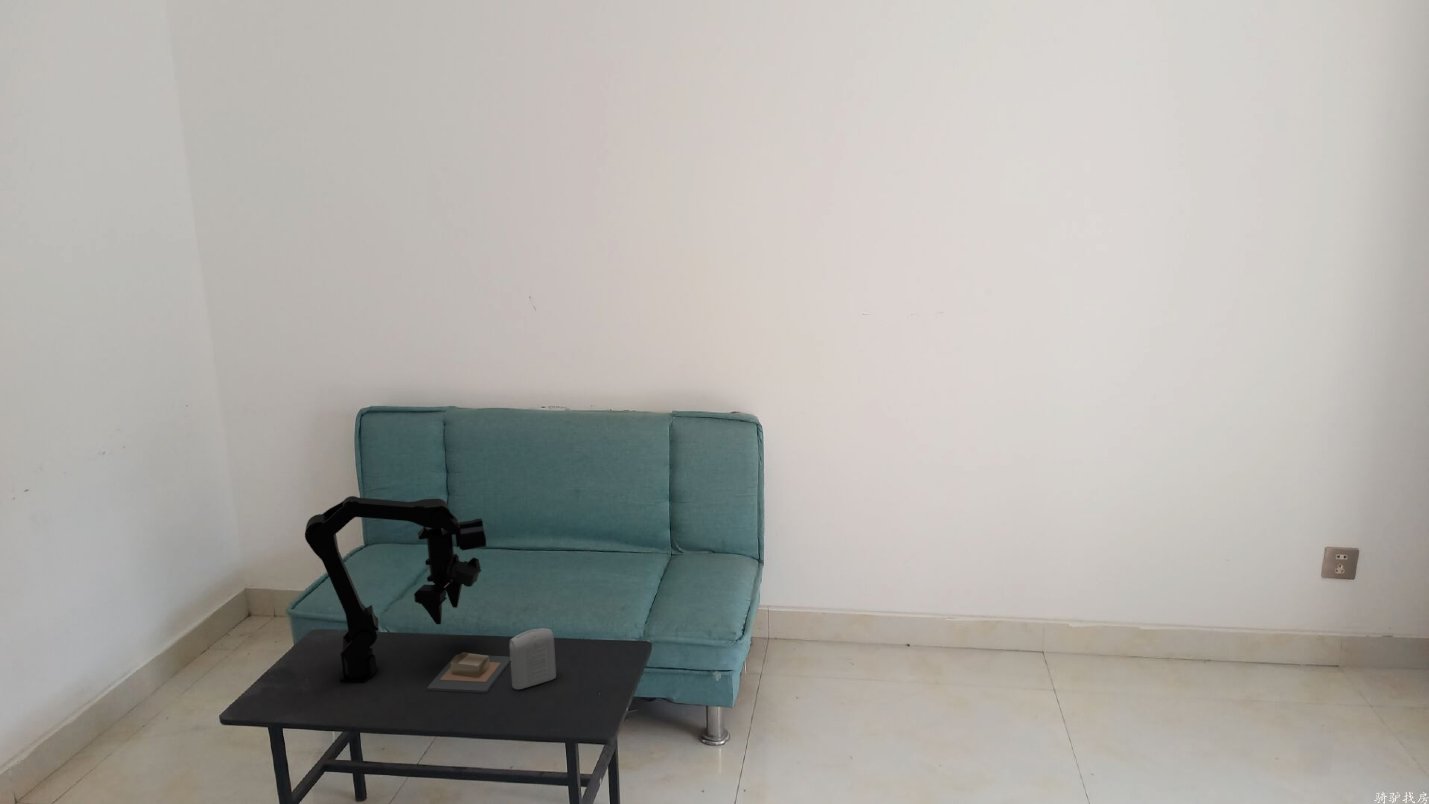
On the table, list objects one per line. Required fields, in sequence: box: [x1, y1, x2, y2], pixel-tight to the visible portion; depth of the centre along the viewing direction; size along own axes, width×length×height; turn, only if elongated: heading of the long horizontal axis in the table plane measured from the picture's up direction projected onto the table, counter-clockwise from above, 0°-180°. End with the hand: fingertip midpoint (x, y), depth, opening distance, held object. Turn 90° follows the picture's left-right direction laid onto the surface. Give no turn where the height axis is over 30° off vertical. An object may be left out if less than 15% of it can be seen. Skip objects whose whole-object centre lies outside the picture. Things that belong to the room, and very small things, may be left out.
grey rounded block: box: [508, 627, 557, 691], centre depth 210 cm, size 10×4×12 cm, turn 123°
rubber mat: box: [426, 653, 511, 694], centre depth 216 cm, size 14×16×1 cm
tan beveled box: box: [451, 651, 490, 678], centre depth 215 cm, size 5×7×3 cm
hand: (447, 615), depth 222 cm, fingers open, 9 cm apart
